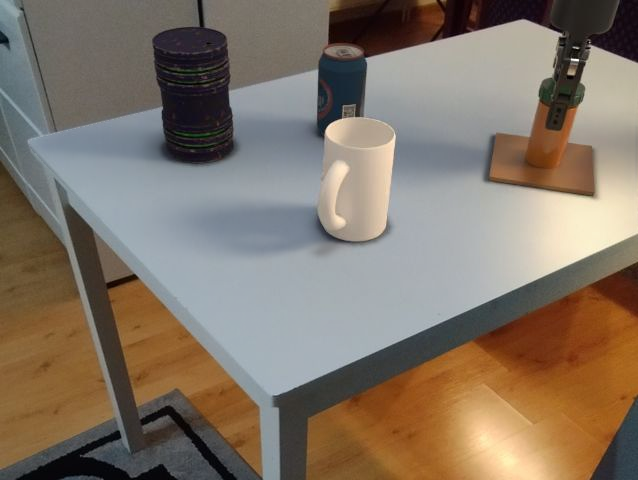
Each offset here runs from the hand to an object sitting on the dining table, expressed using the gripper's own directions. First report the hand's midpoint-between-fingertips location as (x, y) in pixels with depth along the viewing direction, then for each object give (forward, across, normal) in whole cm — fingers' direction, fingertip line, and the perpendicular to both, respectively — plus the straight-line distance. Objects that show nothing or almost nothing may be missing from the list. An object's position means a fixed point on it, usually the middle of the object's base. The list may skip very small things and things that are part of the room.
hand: (553, 118), depth 93 cm
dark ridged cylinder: (+7, -10, +48) cm, 49 cm away
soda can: (+7, +1, +30) cm, 31 cm away
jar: (+6, 0, 0) cm, 6 cm away
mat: (+7, 0, 0) cm, 7 cm away
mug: (+7, -25, +23) cm, 35 cm away
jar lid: (-4, 0, 0) cm, 4 cm away
